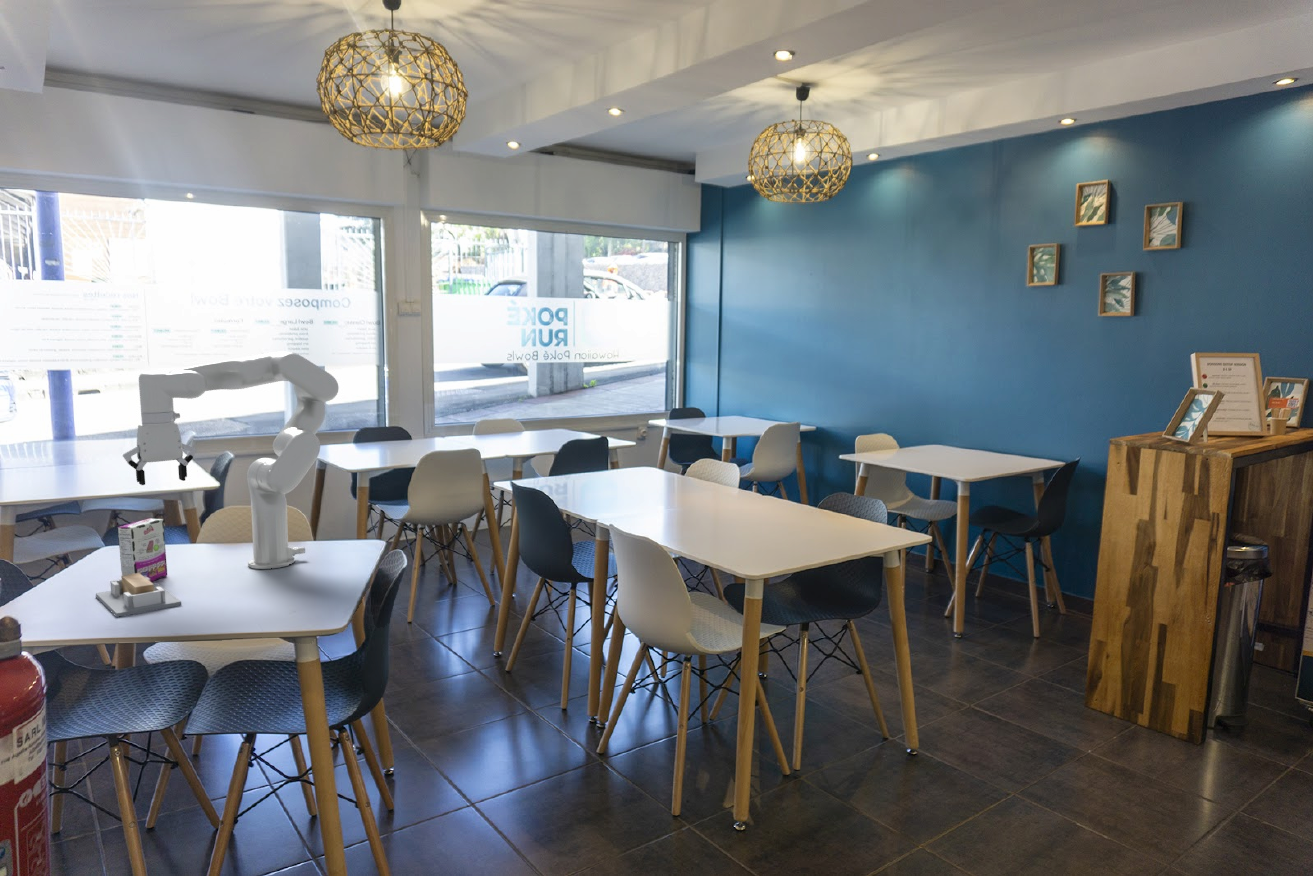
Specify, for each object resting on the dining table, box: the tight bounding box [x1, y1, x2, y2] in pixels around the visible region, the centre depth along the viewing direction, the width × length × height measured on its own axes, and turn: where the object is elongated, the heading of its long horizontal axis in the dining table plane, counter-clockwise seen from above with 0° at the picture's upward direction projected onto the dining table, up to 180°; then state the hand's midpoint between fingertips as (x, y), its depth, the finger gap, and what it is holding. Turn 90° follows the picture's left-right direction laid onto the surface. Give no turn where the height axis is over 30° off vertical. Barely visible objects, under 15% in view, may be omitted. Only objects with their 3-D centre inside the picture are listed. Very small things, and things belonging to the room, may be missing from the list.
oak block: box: [120, 573, 154, 595], centre depth 217 cm, size 4×14×4 cm, turn 44°
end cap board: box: [95, 576, 182, 618], centre depth 217 cm, size 14×22×4 cm, turn 44°
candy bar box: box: [117, 518, 168, 583], centre depth 234 cm, size 11×5×16 cm, turn 168°
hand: (162, 482), depth 229 cm, fingers open, 9 cm apart
